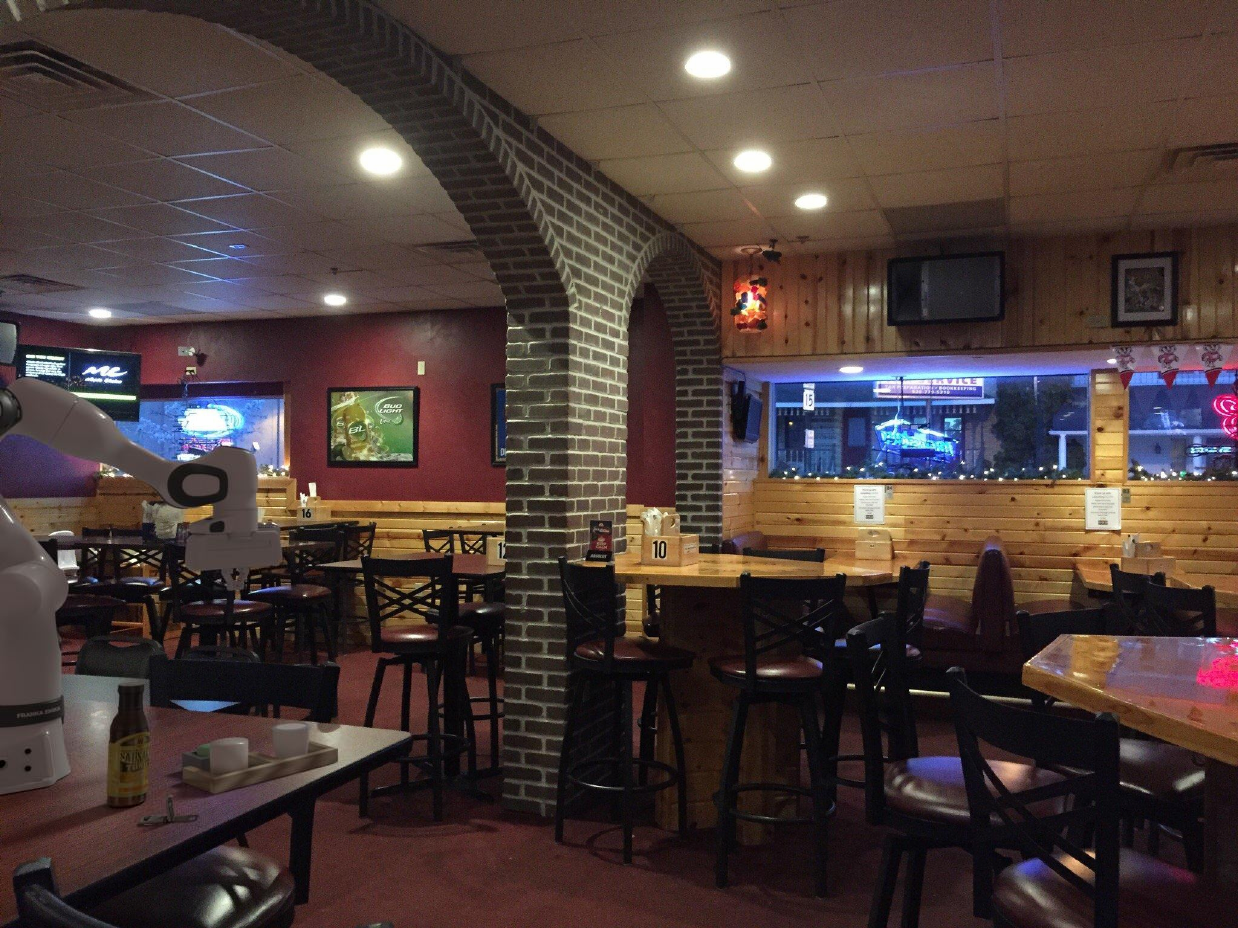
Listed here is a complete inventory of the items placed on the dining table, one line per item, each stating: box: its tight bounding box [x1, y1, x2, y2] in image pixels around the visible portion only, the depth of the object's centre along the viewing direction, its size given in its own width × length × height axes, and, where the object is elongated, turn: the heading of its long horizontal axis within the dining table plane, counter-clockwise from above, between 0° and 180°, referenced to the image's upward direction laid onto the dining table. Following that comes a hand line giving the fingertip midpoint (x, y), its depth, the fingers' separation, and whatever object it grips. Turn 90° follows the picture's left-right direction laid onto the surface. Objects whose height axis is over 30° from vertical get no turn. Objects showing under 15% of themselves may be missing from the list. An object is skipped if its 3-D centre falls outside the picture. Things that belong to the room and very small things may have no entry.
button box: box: [181, 749, 210, 773], centre depth 187 cm, size 7×7×3 cm
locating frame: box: [182, 740, 339, 795], centre depth 185 cm, size 25×11×2 cm, turn 141°
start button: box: [196, 742, 211, 757], centre depth 187 cm, size 4×4×3 cm
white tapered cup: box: [272, 721, 311, 760], centre depth 191 cm, size 7×7×7 cm
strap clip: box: [138, 794, 200, 825], centre depth 159 cm, size 8×3×4 cm, turn 105°
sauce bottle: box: [106, 681, 151, 808], centre depth 168 cm, size 6×6×20 cm
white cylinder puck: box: [209, 736, 249, 776], centre depth 179 cm, size 6×6×7 cm
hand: (235, 589), depth 209 cm, fingers closed
